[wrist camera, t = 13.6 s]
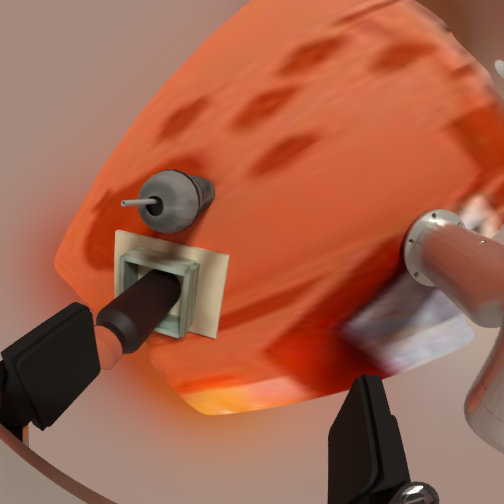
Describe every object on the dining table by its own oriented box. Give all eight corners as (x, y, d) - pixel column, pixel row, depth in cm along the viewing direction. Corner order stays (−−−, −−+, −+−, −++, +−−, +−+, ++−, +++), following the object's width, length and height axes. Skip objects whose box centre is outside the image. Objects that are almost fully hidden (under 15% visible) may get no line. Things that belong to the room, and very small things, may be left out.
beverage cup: (200, 226, 44) (134, 270, 25) (169, 191, 43) (87, 212, 24) (234, 194, 42) (186, 216, 23) (201, 158, 41) (131, 153, 22)
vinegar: (176, 264, 45) (106, 327, 26) (186, 303, 47) (129, 379, 28) (140, 269, 46) (65, 326, 27) (152, 306, 48) (88, 374, 29)
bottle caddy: (230, 254, 44) (220, 267, 39) (217, 335, 49) (208, 355, 43) (118, 229, 46) (98, 237, 40) (117, 305, 50) (101, 320, 45)
